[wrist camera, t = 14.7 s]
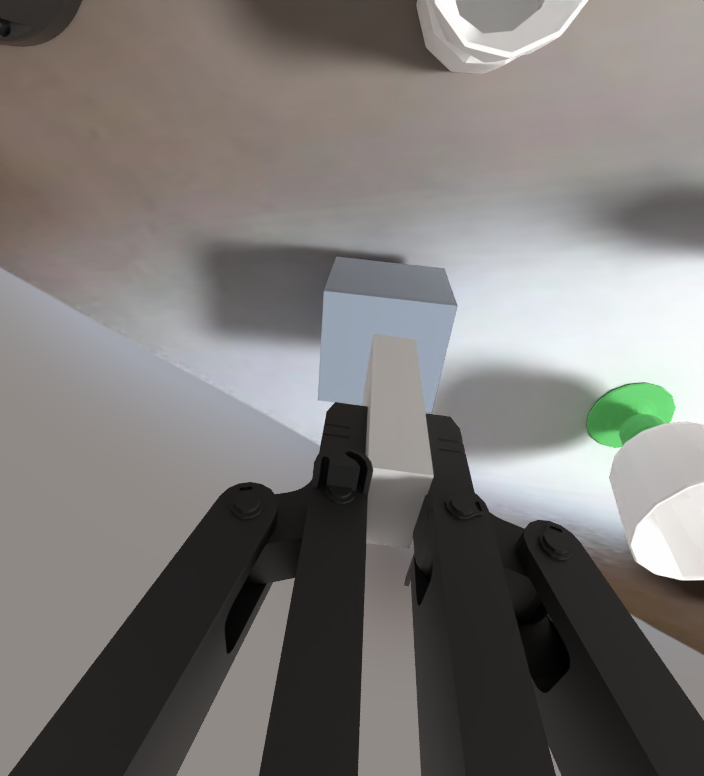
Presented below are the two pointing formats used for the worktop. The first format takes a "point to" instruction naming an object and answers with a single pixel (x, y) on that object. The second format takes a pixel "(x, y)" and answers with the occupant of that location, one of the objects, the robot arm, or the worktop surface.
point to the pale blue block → (382, 323)
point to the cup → (655, 478)
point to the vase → (491, 29)
